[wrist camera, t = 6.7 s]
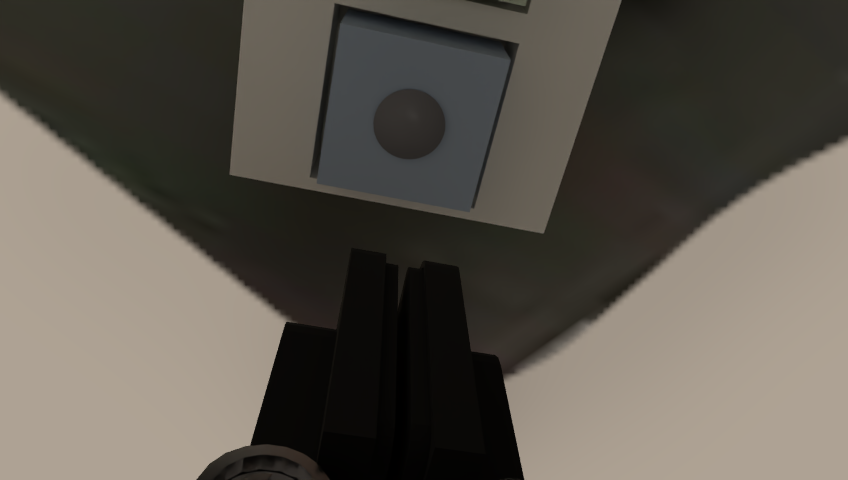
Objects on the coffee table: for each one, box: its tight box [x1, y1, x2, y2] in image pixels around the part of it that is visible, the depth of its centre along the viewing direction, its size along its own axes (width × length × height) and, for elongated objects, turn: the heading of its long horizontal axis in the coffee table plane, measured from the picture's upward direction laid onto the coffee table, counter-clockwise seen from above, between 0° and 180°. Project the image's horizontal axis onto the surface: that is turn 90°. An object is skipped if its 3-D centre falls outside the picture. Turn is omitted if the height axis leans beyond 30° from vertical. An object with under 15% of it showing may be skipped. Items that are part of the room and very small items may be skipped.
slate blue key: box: [317, 9, 511, 212], centre depth 20 cm, size 5×5×2 cm
